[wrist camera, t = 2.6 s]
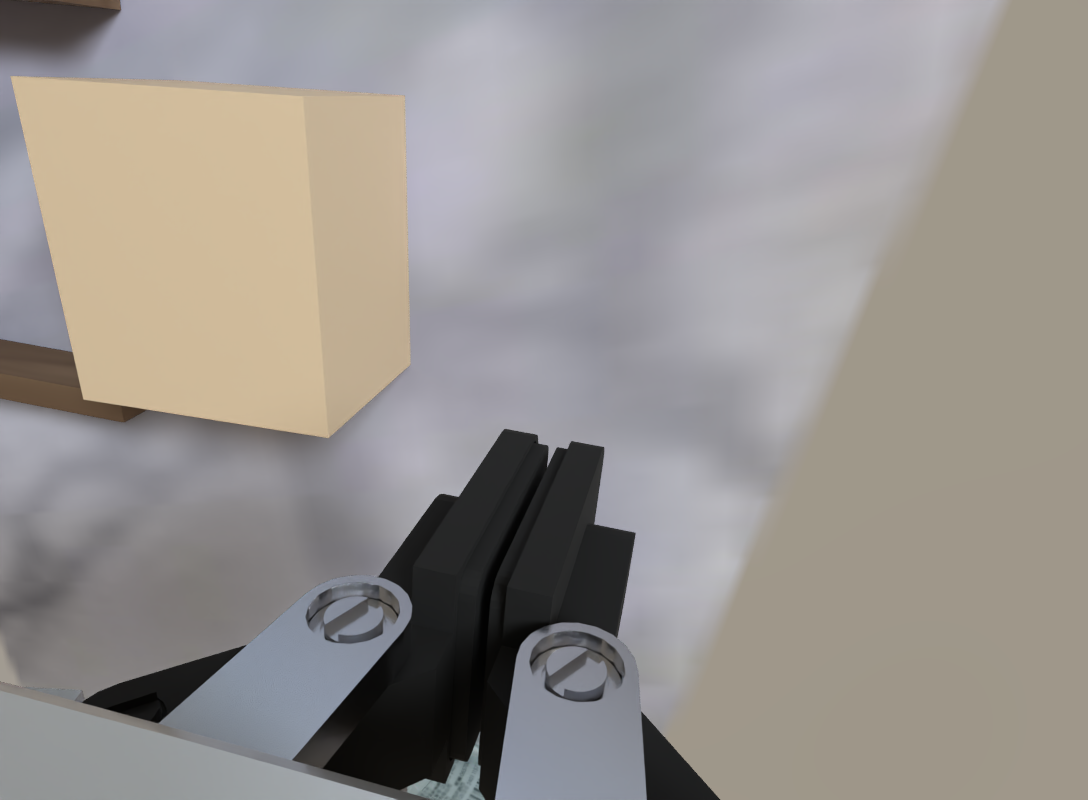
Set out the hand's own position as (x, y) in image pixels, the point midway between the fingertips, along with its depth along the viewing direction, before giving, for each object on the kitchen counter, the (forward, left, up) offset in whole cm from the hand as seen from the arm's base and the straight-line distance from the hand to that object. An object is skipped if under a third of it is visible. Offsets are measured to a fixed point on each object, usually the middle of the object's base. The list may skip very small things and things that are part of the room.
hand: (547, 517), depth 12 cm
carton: (0, -13, -16) cm, 20 cm away
